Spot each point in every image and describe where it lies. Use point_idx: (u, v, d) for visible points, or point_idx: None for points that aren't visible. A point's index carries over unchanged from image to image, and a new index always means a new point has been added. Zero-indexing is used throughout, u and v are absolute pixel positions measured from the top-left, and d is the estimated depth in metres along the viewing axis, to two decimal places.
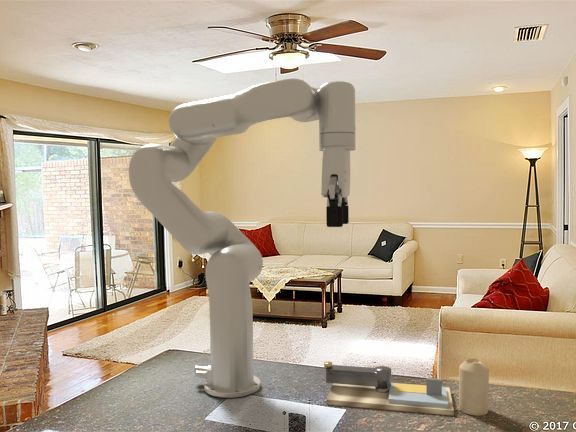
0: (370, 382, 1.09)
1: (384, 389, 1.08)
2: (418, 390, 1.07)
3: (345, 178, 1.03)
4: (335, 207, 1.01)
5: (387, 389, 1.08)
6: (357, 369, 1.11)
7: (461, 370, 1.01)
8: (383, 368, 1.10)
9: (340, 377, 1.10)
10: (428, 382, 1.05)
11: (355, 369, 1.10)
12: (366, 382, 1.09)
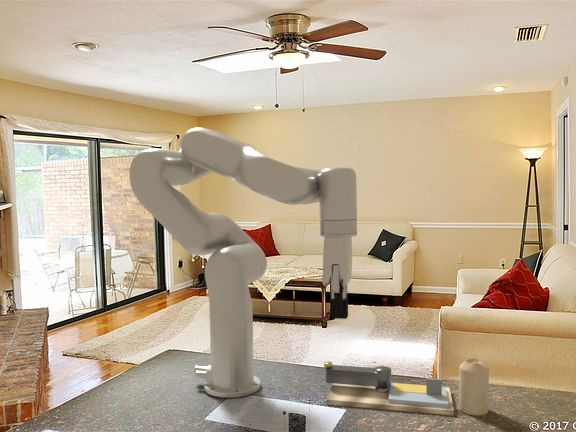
0: (370, 382, 1.09)
1: (384, 389, 1.08)
2: (418, 390, 1.07)
3: (347, 267, 1.00)
4: (340, 300, 1.03)
5: (387, 389, 1.08)
6: (357, 369, 1.11)
7: (461, 370, 1.01)
8: (383, 368, 1.10)
9: (340, 377, 1.10)
10: (428, 382, 1.05)
11: (355, 369, 1.10)
12: (366, 382, 1.09)
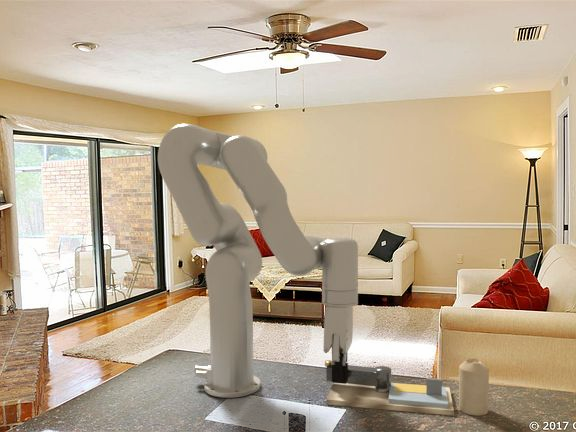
0: (370, 382, 1.09)
1: (384, 389, 1.08)
2: (418, 390, 1.07)
3: (347, 337, 1.04)
4: (340, 366, 1.07)
5: (387, 389, 1.08)
6: (357, 368, 1.11)
7: (461, 370, 1.01)
8: (383, 368, 1.10)
9: None
10: (428, 382, 1.05)
11: (355, 369, 1.11)
12: (365, 382, 1.09)
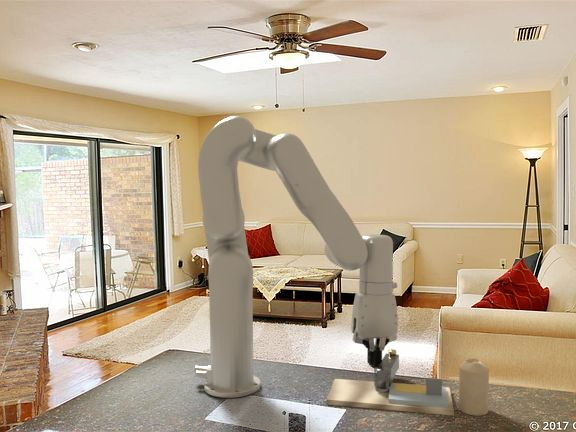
0: None
1: (384, 389, 1.08)
2: (418, 390, 1.07)
3: (362, 323, 1.16)
4: (369, 350, 1.18)
5: (387, 389, 1.08)
6: (386, 362, 1.15)
7: (461, 370, 1.01)
8: (384, 369, 1.09)
9: None
10: (428, 382, 1.05)
11: (385, 362, 1.15)
12: None
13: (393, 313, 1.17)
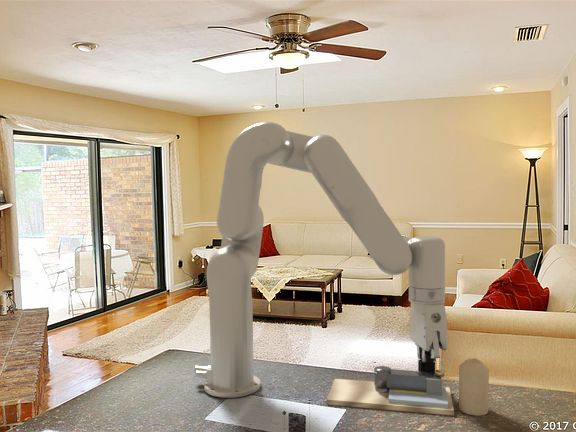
0: None
1: (384, 389, 1.08)
2: (418, 390, 1.07)
3: (410, 324, 1.14)
4: None
5: (387, 389, 1.08)
6: (408, 372, 1.09)
7: (461, 370, 1.01)
8: (382, 369, 1.09)
9: None
10: (428, 382, 1.05)
11: (410, 372, 1.09)
12: None
13: (423, 324, 1.06)
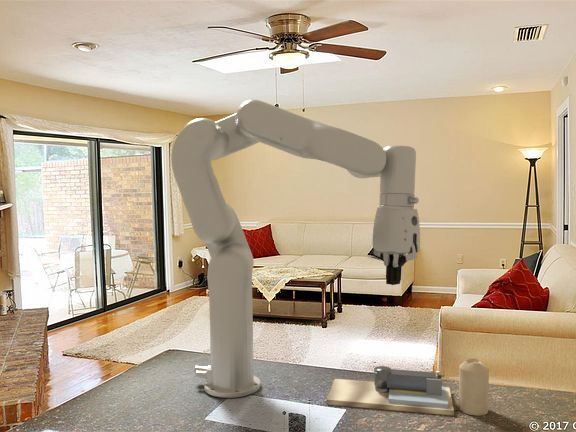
0: None
1: (384, 389, 1.08)
2: (418, 390, 1.07)
3: (374, 234, 1.15)
4: None
5: (387, 389, 1.08)
6: (408, 372, 1.09)
7: (461, 370, 1.01)
8: (382, 369, 1.09)
9: None
10: (428, 382, 1.05)
11: (410, 372, 1.09)
12: None
13: (403, 228, 1.10)
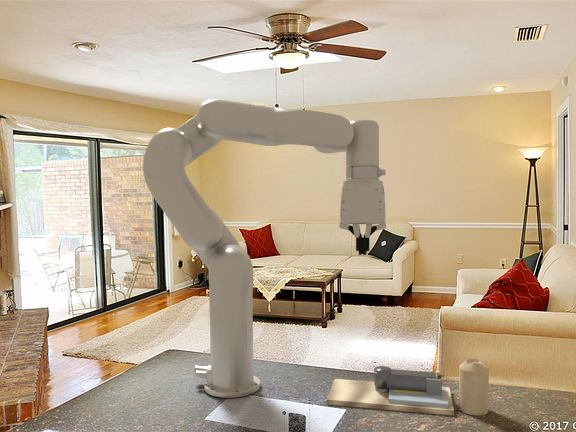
0: None
1: (384, 389, 1.08)
2: (418, 390, 1.07)
3: (344, 207, 1.17)
4: None
5: (387, 389, 1.08)
6: (408, 372, 1.09)
7: (461, 370, 1.01)
8: (382, 369, 1.09)
9: None
10: (428, 382, 1.05)
11: (410, 372, 1.09)
12: None
13: (377, 199, 1.15)
